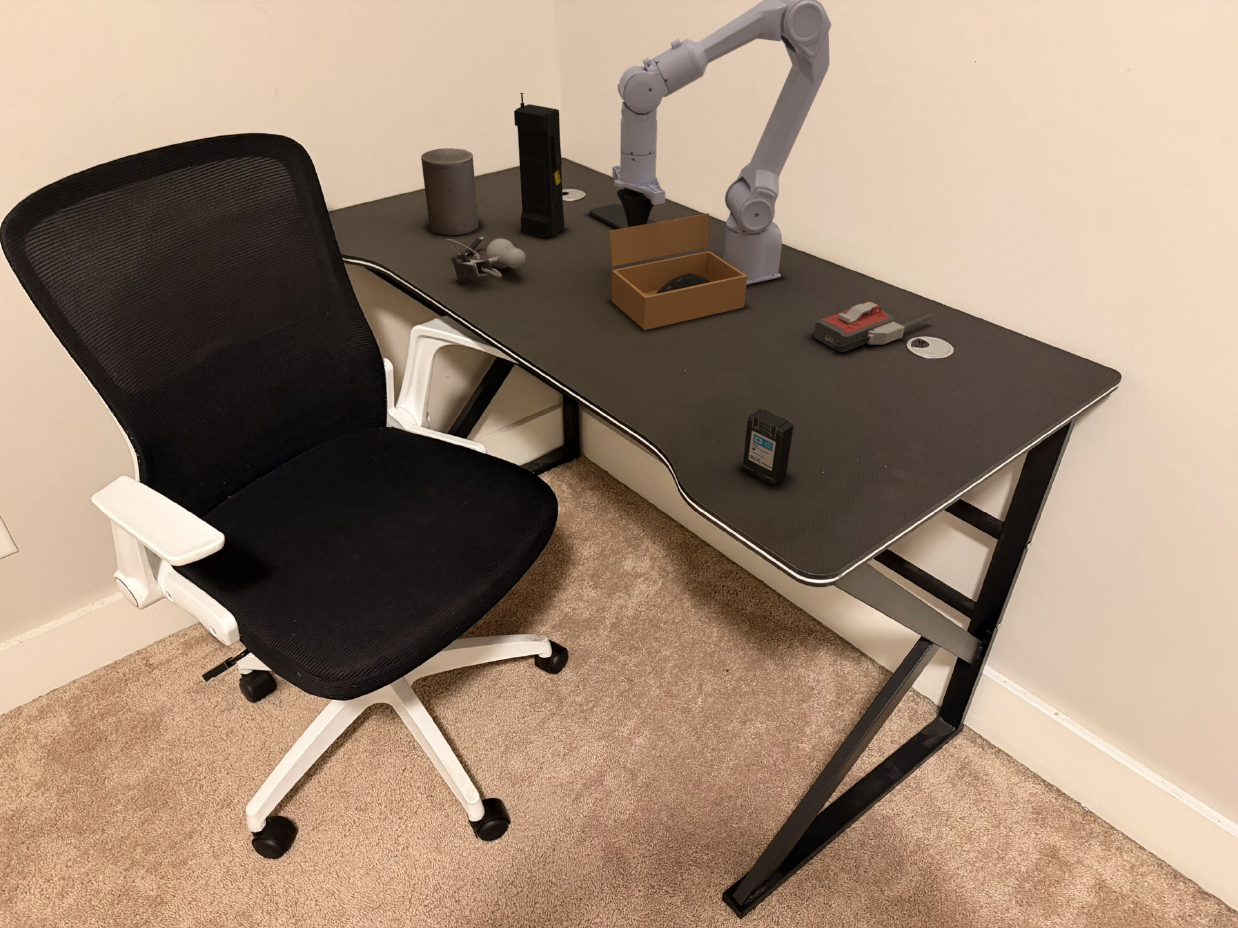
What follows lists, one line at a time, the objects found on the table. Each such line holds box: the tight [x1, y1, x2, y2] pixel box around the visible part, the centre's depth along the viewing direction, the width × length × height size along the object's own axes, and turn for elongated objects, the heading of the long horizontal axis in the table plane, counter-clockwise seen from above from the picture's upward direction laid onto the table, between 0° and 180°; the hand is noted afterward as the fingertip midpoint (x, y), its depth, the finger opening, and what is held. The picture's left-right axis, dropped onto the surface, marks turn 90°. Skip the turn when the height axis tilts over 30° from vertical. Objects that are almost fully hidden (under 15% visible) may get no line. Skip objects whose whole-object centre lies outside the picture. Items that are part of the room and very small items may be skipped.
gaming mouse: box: [656, 273, 710, 294], centre depth 141 cm, size 6×15×4 cm, turn 127°
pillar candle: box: [420, 147, 479, 236], centre depth 165 cm, size 10×10×15 cm
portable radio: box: [513, 92, 566, 239], centre depth 160 cm, size 8×6×25 cm
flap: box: [608, 212, 711, 267], centre depth 142 cm, size 18×6×1 cm
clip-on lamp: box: [446, 236, 527, 283], centre depth 151 cm, size 12×6×18 cm
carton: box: [611, 250, 747, 331], centre depth 141 cm, size 18×12×6 cm, turn 117°
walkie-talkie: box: [813, 300, 934, 353], centre depth 133 cm, size 9×4×20 cm
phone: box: [589, 203, 657, 230], centre depth 172 cm, size 7×1×15 cm
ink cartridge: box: [741, 408, 795, 486], centre depth 102 cm, size 5×2×8 cm, turn 46°
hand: (636, 233), depth 145 cm, fingers closed
